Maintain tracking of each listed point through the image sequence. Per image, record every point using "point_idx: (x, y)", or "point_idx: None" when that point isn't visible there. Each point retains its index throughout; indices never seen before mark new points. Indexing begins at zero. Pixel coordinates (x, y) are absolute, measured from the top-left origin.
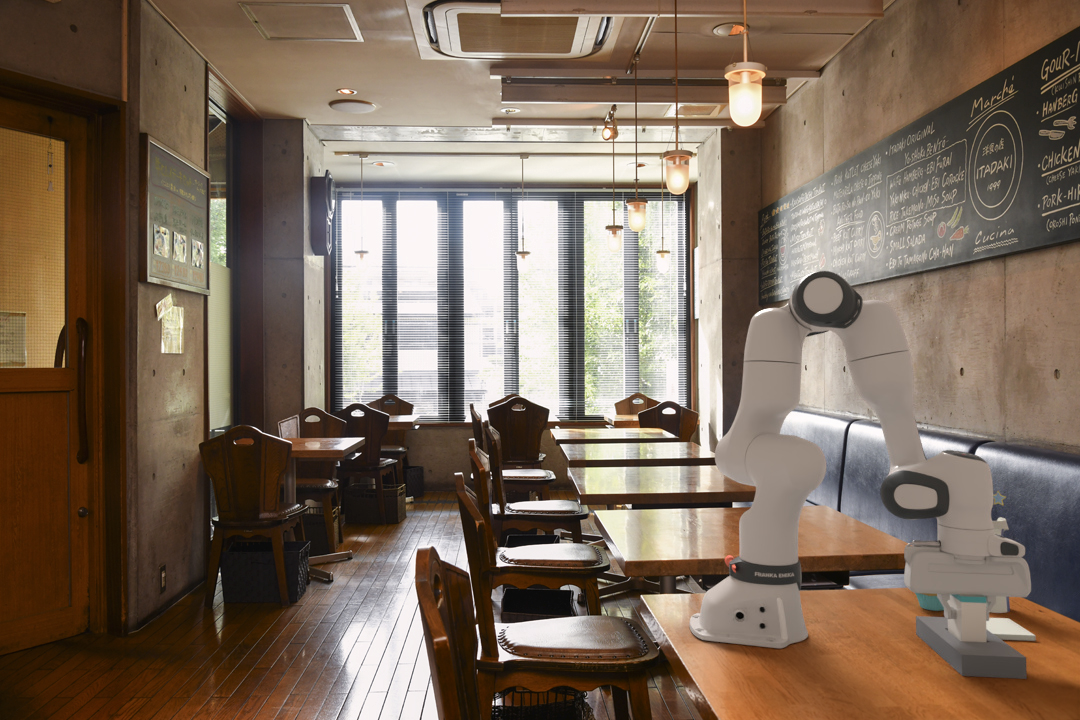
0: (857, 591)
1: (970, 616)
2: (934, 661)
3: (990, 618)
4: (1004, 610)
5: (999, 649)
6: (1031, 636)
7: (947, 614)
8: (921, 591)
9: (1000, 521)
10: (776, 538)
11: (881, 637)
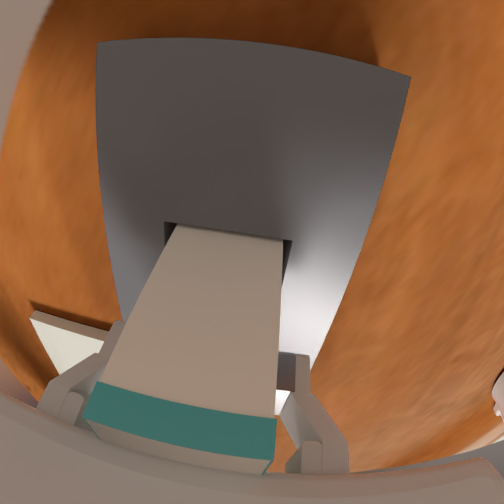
0: None
1: (225, 327)
2: (387, 206)
3: None
4: None
5: (163, 134)
6: (36, 318)
7: (307, 373)
8: (468, 468)
9: None
10: None
11: (392, 359)
